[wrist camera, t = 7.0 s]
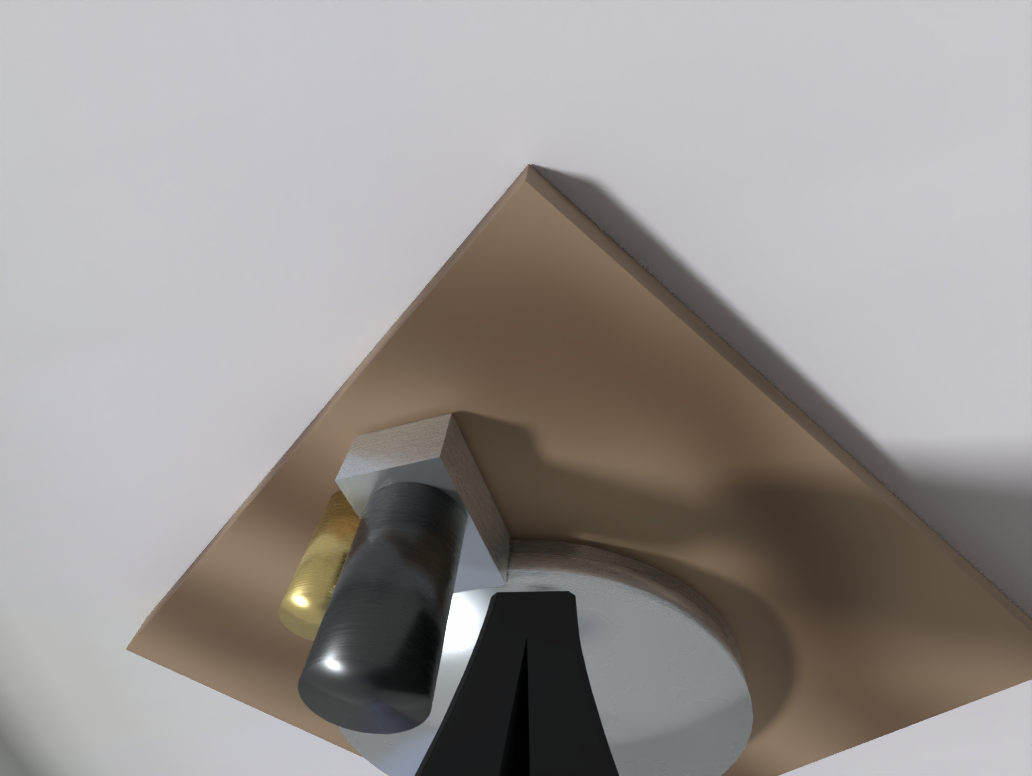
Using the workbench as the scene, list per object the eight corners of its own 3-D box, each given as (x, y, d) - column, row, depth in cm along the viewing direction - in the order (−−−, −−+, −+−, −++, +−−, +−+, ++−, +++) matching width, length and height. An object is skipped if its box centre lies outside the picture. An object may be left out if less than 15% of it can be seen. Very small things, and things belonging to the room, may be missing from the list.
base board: (573, 821, 27) (573, 853, 26) (146, 617, 21) (125, 649, 20) (1040, 627, 18) (1068, 665, 17) (528, 164, 12) (525, 180, 11)
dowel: (368, 542, 16) (328, 650, 14) (316, 511, 16) (265, 619, 13) (401, 511, 16) (366, 620, 13) (348, 478, 15) (301, 584, 12)
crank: (763, 755, 20) (819, 978, 16) (434, 784, 23) (402, 980, 19) (669, 360, 12) (727, 581, 8) (184, 477, 15) (20, 690, 11)
